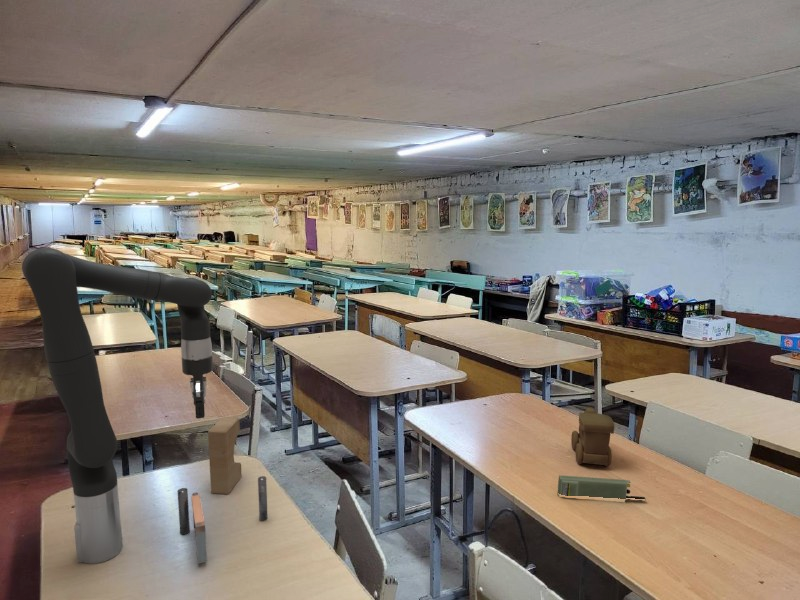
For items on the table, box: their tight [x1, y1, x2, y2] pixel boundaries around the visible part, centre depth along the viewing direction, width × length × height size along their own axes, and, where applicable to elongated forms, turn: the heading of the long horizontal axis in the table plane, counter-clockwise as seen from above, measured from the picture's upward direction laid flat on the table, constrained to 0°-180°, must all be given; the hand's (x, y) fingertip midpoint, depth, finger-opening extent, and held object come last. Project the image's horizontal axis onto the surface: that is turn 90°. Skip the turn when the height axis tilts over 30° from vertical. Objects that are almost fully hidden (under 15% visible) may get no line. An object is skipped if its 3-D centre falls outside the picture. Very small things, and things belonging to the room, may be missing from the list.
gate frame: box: [177, 475, 268, 536], centre depth 140 cm, size 22×3×12 cm, turn 110°
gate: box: [190, 492, 208, 564], centre depth 131 cm, size 16×2×9 cm, turn 25°
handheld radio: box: [557, 474, 646, 500], centre depth 156 cm, size 7×3×25 cm
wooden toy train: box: [570, 407, 615, 467], centre depth 181 cm, size 20×11×17 cm, turn 170°
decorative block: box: [207, 416, 243, 495], centre depth 160 cm, size 11×6×20 cm, turn 175°
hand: (200, 417), depth 140 cm, fingers closed
